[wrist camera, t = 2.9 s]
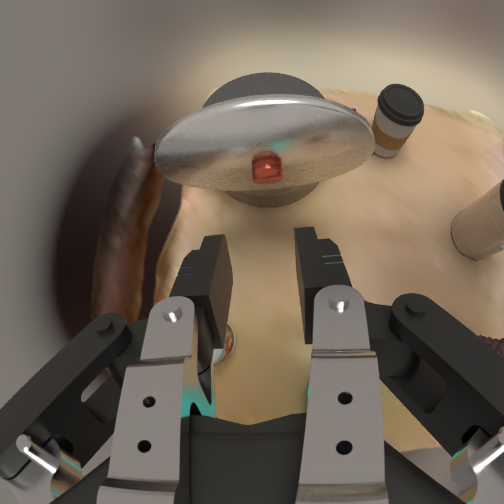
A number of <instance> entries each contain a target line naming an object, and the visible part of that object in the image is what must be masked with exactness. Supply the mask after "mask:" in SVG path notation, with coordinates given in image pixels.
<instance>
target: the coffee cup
mask: <svg viewBox="0 0 504 504" xmlns="http://www.w3.org/2000/svg"><path fill="white" fill-rule="evenodd" d="M423 114H424V104H423V101H422V99H421V97H420V96H419V95H418V94H417V93H416V92H415V91H414V90H412V89H411V88H409V87H407V86H405V85H401V84H391V85H388V86H387V87H386V88H385V89H383V90H382V91H381V93H380V95H379V97H378V106H377V109H376V112H375V116H374V120H373V124H372V130H373V135H374V139H375V150H374V152H375V153H376V154H377V155H379V156H381V157H385V158H386V157H392V156H394V155H395V154H396V153H397V152H398V151H399V149H400V148H401V147H402V146H403V144H404V143H405V142H406V140H407V139H408V137H409V136H410V135H411V133H412V132H413V130H414V128H415V127H416V125H417V124H419V123H420V121H421V120H422V117H423Z"/></svg>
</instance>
